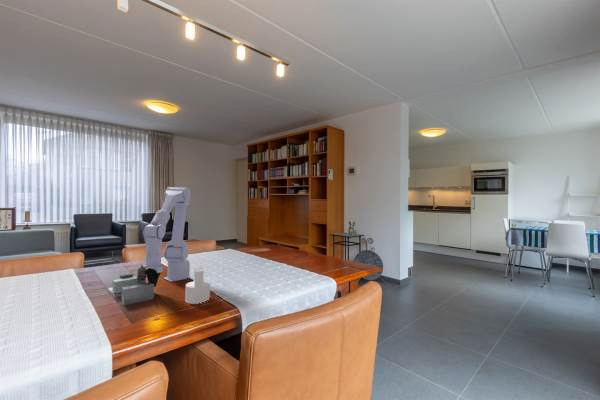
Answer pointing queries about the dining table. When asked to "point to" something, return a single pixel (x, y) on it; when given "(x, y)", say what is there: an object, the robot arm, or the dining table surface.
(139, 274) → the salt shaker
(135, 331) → the dining table surface
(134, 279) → the vise jaw
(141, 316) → the dining table surface
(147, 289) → the plate
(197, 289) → the cylinder with rectangular tab
